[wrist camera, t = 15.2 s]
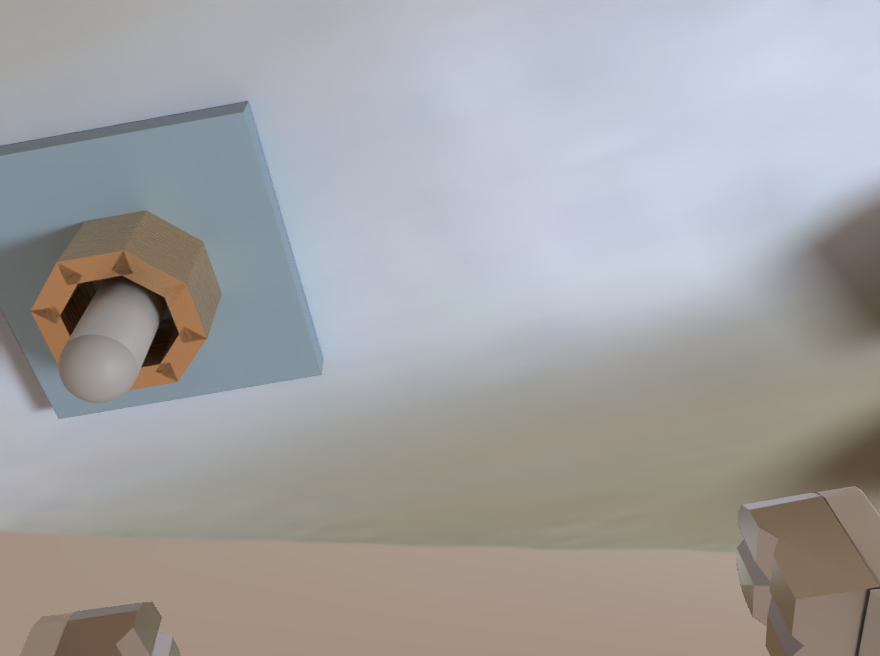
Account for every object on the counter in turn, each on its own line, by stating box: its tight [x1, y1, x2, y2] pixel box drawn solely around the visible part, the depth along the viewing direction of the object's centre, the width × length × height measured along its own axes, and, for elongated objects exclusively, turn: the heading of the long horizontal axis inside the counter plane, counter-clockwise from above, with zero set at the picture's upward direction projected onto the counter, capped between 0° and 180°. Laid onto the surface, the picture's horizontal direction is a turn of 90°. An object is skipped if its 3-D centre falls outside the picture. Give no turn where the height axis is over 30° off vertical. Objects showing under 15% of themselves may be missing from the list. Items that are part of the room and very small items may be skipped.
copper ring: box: [30, 210, 222, 391], centre depth 38 cm, size 7×7×4 cm
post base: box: [0, 101, 323, 419], centre depth 36 cm, size 14×14×10 cm
